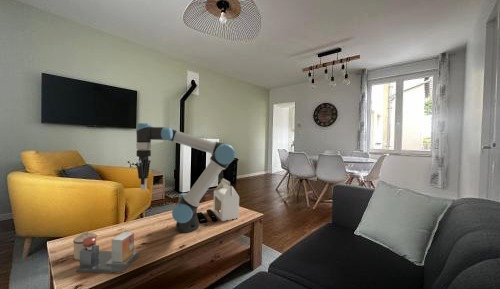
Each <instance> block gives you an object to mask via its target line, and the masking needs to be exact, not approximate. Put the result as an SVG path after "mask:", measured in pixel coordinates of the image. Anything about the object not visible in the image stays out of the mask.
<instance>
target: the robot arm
mask: <svg viewBox="0 0 500 289" xmlns="http://www.w3.org/2000/svg"><path fill="white" fill-rule="evenodd" d="M135 131H136V132H135V133H136V134H135V135H136V143H135V146H136V153H135V154H136V156H135V157H138V162H136V163H135V165H136V168H137V177H138V180H140V191H146V190H147V189H148V187H147V184H148V183H147V179H149V176H150V175H149V174H150V167H151V166H150V165H151V160H150V159H149V157H152V150H151V149H152V140H153V141H154V140H156V141H158V140H159V141H170V142H173V143H177V144H180V145H184V146H186V147H188V148H193V149H196V150H199V151H201V152H205V153H209V154H211V156H210V158H209V160H210V162H209V163H208V165H207V166H206V167H205V169H204V170H203V172H202V173H201V174H200V176H199V177H198V179H196V181H195V182H194V184H193V185H192V187H190V189H189V191H188V192H183V193H180V194H179V196H178V202H177V203H176V205H175V206H173V209H172V211H171V215H172V219H174V221H175V222H176V223H175V230H176V231H177V232H179V233H192V232H194V231H197V230H198V229H199V228H200V222H199V218H198V215H197V212H198V208H199V207H200V201H201V199H203V196H205V195H206V193H207V191H208V190H209V188H210V187H211V186H212V185H213V183H214V182H215V180H216V179H217V177H218V176H219V174H221V172H222V171H223V170H226V169H227V168H228V167H229V165H230V164H232V162H233V161H234V159H235V157H236V150H235V148H234V147H233V146H232V144H229V143H224V142H219V141H215V142H214V141H210V140H207V139H204V138H201V137H197V136H196V135H192V134H188V133H186V132H185V133H184V132H182V131H179V130H175V129H173V128H172V127H167V126H164V127H163V126H158V127H157V126H152V123H146V122H139V123H137V124H136V130H135Z"/></svg>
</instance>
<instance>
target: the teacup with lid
mask: <svg viewBox="0 0 500 289" xmlns="http://www.w3.org/2000/svg"><path fill="white" fill-rule="evenodd" d="M88 237H96V238H97V234H96V233H93V232H91V233H90V232H88V231H83V232H82V233H81V235H77V236H76V237H75V238H74V239H73V259H74V260H76V261H77V260H78V261H80V251H81V250H82V249H84V248H85V247H84V246H83V240H84V239H85V238H88ZM94 245H97V243H96V244H94Z"/></svg>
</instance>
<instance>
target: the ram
mask: <svg viewBox="0 0 500 289" xmlns="http://www.w3.org/2000/svg"><path fill="white" fill-rule="evenodd" d="M94 244H96V245H97V237H88V238H85V239H84V240H83V246H84V247H87V250H91V249H92V245H94Z"/></svg>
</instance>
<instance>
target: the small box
mask: <svg viewBox="0 0 500 289" xmlns="http://www.w3.org/2000/svg"><path fill="white" fill-rule="evenodd" d="M134 247H135V233H134V232H129V231H123V232H122V233H120V234H118V235H117V236H115V237H114V238H112V239H111V251H112V258H111V261H114V262H123V261H124V260H126V259H127V258H128V257H130V256H131V255H132V254H133V253H134V252H135V251H134V250H135V249H134Z"/></svg>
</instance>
